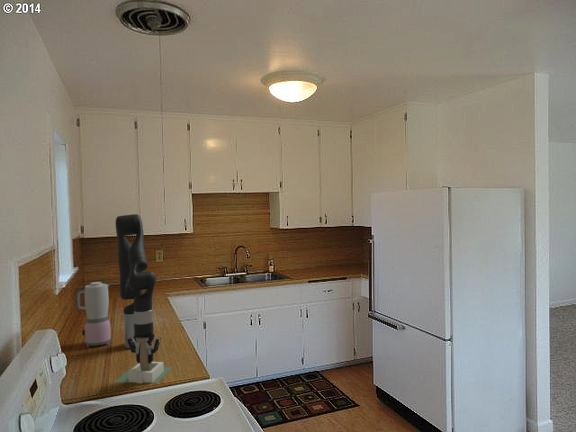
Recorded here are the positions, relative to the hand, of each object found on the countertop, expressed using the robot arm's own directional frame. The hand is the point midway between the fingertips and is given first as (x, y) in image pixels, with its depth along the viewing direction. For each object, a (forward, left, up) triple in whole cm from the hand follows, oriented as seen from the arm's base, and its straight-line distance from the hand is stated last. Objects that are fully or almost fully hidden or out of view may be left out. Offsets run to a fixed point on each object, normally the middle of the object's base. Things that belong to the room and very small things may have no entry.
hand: (145, 362), depth 170 cm
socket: (-1, 0, -6) cm, 6 cm away
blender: (-41, -47, -7) cm, 63 cm away
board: (-3, -2, -7) cm, 8 cm away
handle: (0, 0, -4) cm, 4 cm away
